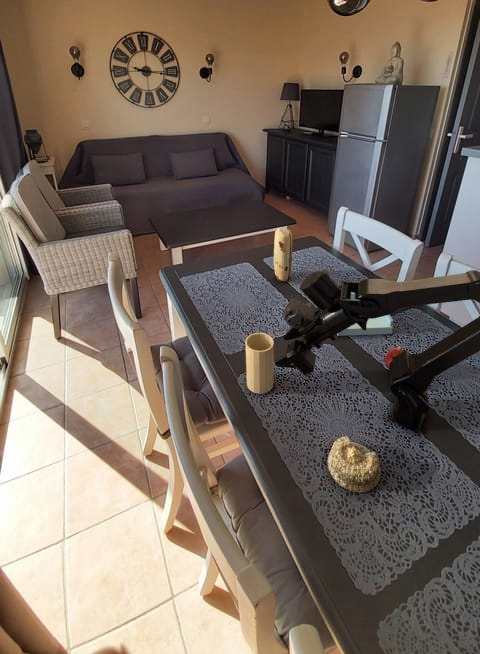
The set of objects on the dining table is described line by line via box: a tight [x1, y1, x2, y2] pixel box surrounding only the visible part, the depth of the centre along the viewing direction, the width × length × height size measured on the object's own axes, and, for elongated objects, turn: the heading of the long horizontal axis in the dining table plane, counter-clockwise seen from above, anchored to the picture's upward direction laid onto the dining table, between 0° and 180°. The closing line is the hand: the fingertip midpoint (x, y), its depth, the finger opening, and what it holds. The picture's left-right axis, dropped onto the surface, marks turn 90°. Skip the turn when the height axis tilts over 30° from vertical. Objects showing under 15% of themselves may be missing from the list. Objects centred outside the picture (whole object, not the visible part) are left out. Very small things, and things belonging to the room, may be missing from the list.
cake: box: [327, 435, 382, 494], centre depth 69 cm, size 10×10×5 cm
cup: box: [244, 332, 275, 395], centre depth 88 cm, size 7×7×13 cm
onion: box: [384, 345, 405, 370], centre depth 91 cm, size 6×6×8 cm
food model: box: [273, 227, 293, 283], centre depth 134 cm, size 10×7×20 cm
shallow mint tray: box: [337, 292, 394, 337], centre depth 113 cm, size 16×16×4 cm
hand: (280, 351), depth 85 cm, fingers open, 9 cm apart
